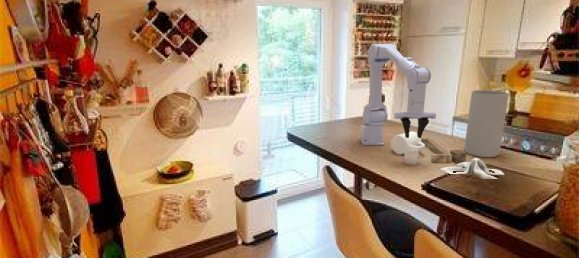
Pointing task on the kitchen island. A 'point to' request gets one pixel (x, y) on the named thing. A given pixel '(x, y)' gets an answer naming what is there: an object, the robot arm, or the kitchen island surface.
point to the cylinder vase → (486, 122)
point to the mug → (406, 142)
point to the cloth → (473, 169)
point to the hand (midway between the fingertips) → (412, 137)
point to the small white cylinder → (411, 156)
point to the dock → (437, 152)
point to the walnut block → (458, 156)
